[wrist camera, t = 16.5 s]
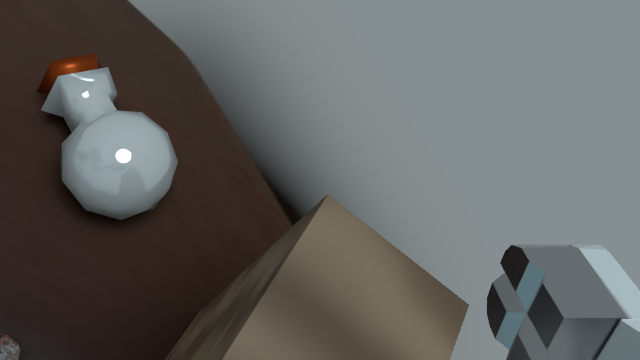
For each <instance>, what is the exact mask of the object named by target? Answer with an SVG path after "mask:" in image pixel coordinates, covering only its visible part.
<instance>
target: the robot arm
mask: <svg viewBox="0 0 640 360" xmlns="http://www.w3.org/2000/svg"><path fill="white" fill-rule="evenodd" d="M501 265H502V267H503V269H504V271H505V273H504V274H503V275H501V276H500V277H499V278H498V279H496V280H495V281H494V282H493V283H492V285H491V288H490V291H489V294H488V297H487V316H488V320H489V324H490V328H491V330H492V332H493V334H494V337H495V339H497V340H498V341H499V342H500V343H502V344H503V345H504V346H505V347H507V348H508V349H509V352H508V356H507V359H506V360H640V291H639V289H638V288H637V287H636V286H635V284H634V283H633V282H632V281H631V279H630V278H629V277H628V275H627V274H626V273H625V272H624V270H623V269H622V268H621V267H620V265H619V264H618V263H617V261H616V260H615V259H614V258H613V256H612V255H611V254H610V253H609V251H608V250H607V249H605V248H604V247H602V246H600V245H598V244H593V245H592V244H590V245H588V244H586V245H511V246H510V247H509V248H508V249H507V250H506V251H505V253H504V255H503V258H502V260H501Z"/></svg>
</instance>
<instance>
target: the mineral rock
mask: <svg viewBox="0 0 640 360" xmlns="http://www.w3.org/2000/svg"><path fill="white" fill-rule="evenodd" d="M19 353H20V347H19V345H18V344H17V342H16V341H14V340H13V339H12V338H11V337H10V336H9V335H8V333H7V334H4V333H3V334H2V333H0V360H19Z"/></svg>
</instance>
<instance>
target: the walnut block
mask: <svg viewBox="0 0 640 360" xmlns="http://www.w3.org/2000/svg"><path fill="white" fill-rule="evenodd" d="M468 306H469V305H468V304H467V303H466V302H465V301H463V300H462V299H461V298H460V297H458V296H457V295H456V294H454V293H453V292H452V291H451V290H449V289H448V288H447V287H445V286H444V285H443V284H442V283H440V282H439V281H438V280H436V279H435V278H434V277H433V276H431V275H430V274H429V273H427V272H426V271H425V270H424V269H422V268H421V267H420V266H419V265H417V264H416V263H415V262H414V261H412V260H411V259H410V258H408V257H407V256H406V255H405V254H403V253H402V252H401V251H400V250H398V249H397V248H396V247H394V246H393V245H392V244H391V243H389V242H388V241H387V240H386V239H384V238H383V237H382V236H380V235H379V234H378V233H377V232H375V231H374V230H373V229H371V228H370V227H369V226H368V225H366V224H365V223H364V222H363V221H361V220H360V219H359V218H357V217H356V216H355V215H354V214H352V213H351V212H350V211H348V210H347V209H346V208H345V207H343V206H342V205H341V204H340V203H338V202H337V201H335V200H334V199H333V198H332V197H331V196H329V195H327V196H326V197H325V198H323V199H322V200H321V201H320V202H319V203H318V204H317V205H316V206H315V207H314V208H313V209H311V210H310V211H309V212H308V213H307V214H306V215H305V216H304V217H303V218H302V219H300V220H299V221H298V222H297V223H296V224H295V225H294V226H293V227H292V228H291V229H289V230H288V231H287V232H286V233H285V234H284V235H283V236H282V237H281V238H280V239H278V240H277V241H276V242H275V243H274V244H273V245H272V246H271V247H270V248H269V249H268V250H266V251H265V252H264V253H263V254H262V255H261V256H260V257H259V258H258V259H257V260H255V261H254V262H253V263H252V264H251V265H250V266H249V267H248V268H247V269H246V270H244V271H243V272H242V273H241V274H240V275H239V276H238V277H237V278H236V279H235V280H233V281H232V282H231V283H230V284H229V285H228V286H227V287H226V288H225V289H224V290H223V291H221V292H220V293H219V294H218V295H217V296H216V297H215V298H214V299H213V300H212V301H210V302H209V303H208V304H207V305H206V306H205V307H204V308H203V309H202V310H201V311H199V312H198V314H197V315H196V316H195V318H194V319H193V321H192V322H191V323H190V325H189V326H188V328H187V329H186V331H185V332H184V333H183V335H182V336H181V338H180V339H179V340H178V342H177V343H176V345H175V346H174V347H173V349H172V350H171V352H170V353H169V354H168V356H167V357H166V359H165V360H450V357H451V354H452V351H453V349H454V345H455V343H456V340H457V337H458V335H459V332H460V329H461V326H462V323H463V321H464V318H465V315H466V312H467V309H468Z"/></svg>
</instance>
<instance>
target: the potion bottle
mask: <svg viewBox="0 0 640 360" xmlns="http://www.w3.org/2000/svg"><path fill="white" fill-rule="evenodd" d="M37 92H40V93H44V94H47V95H48V97H47V99H46V101H45V103H44V105H43V107H42V109H41V110H42V111H45V112H48V113H52V114H55V115H58V116H61V117H64V119H65V121H66V123H67V125H68V127H69V129H70V131H71V132H72V133H71V134H70V135H69V137H68V138H67V139H66V140H65V141H64V142H63V143H62V148H61V161H60V168H61V175H62V181H63V182H64V184H65V185H66V187H67V188H68V190H69V191H70V192H71V194H72V195H73V196H74V197H75V199H76V200H77V201H78V202H79V203H80V204H81V205H82V206H83V208H84V209H85V210H87V211H91V212H94V213H97V214H100V215H104V216H108V217H111V218H115V219H119V220H123V219H126V218H129V217H132V216H135V215H137V214H140V213H143V212H146V211H149V210H152V209H154V208H155V207H156V205H157V204H158V203H159V201H160V200H161V199H162V198H163V196H164V195H165V194H166V192H167V191H168V190H169V188H170V186H171V183H172V181H173V177H174V174H175V170H176V167H177V163H178V161H177V158H176V155H175V152H174V150H173V147H172V144H171V141H170V138H169V136H168V133H167V132H166V131H165V130H163V129H162V128H161V127H160V126H158V125H157V124H156V123H155V122H154V121H152V120H151V119H150V118H149V117H147V116H146V115H145V114H144V113H142V112H130V111H119V110H116V108H115V106H114V105H113V102H114V100H115V98H116V96H117V91H116V88H115V86H114V83H113V80H112V77H111V74H110V71H109V69H108V67H105V68H101V65H100V63H99V60H98V57H97V55H96V54H90V55H84V56H78V57H72V58H66V59H60V60H54V61H51V63H50V65H49V67H48V69H47V71H46V74H45V76H44V78H43V80H42V82H41V84H40V86H39V88H38V90H37Z"/></svg>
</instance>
